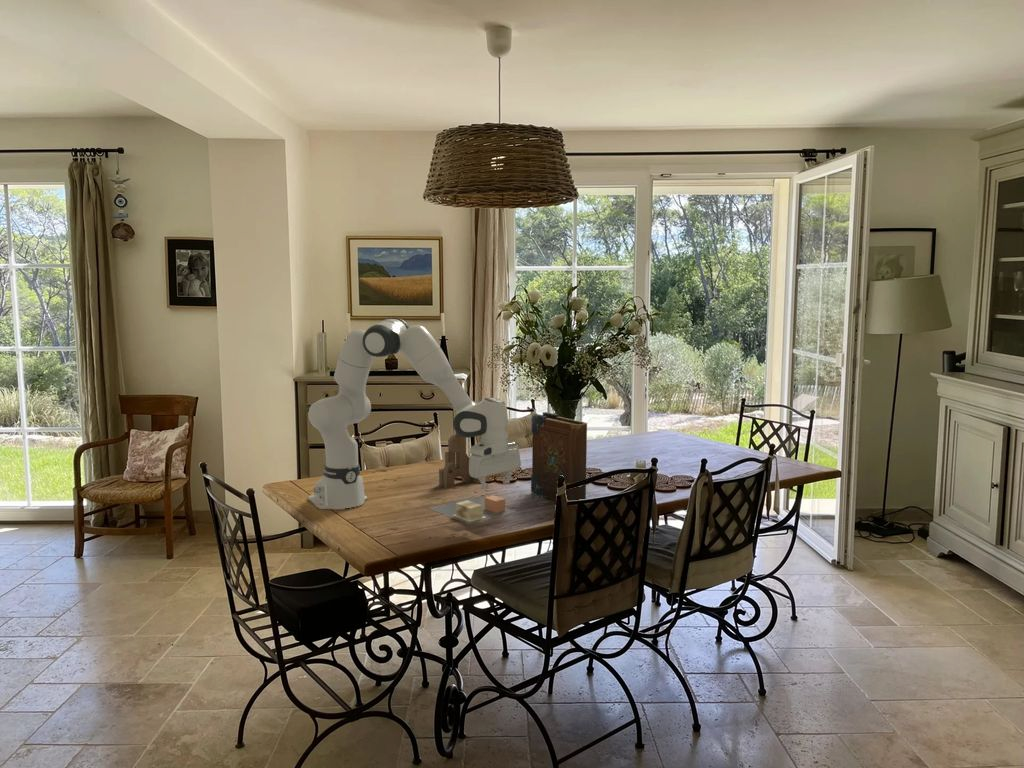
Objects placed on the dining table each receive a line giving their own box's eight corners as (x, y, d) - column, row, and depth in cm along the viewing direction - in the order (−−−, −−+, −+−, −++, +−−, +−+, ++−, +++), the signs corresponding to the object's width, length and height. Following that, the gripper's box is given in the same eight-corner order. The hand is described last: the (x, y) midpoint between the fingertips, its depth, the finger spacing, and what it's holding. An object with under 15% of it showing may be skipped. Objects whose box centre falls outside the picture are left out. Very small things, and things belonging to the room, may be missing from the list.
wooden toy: (446, 489, 284) (445, 424, 280) (439, 485, 290) (438, 421, 286) (482, 483, 292) (482, 420, 288) (474, 479, 297) (474, 417, 294)
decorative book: (530, 493, 278) (531, 414, 274) (545, 490, 283) (545, 411, 279) (574, 508, 260) (575, 423, 256) (589, 504, 265) (590, 421, 261)
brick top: (484, 508, 255) (484, 497, 254) (493, 506, 257) (493, 495, 257) (496, 512, 250) (496, 501, 250) (505, 510, 253) (505, 499, 252)
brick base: (455, 514, 248) (455, 503, 247) (467, 511, 251) (467, 500, 251) (470, 520, 242) (470, 508, 241) (482, 517, 245) (482, 505, 245)
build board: (428, 512, 256) (427, 507, 255) (473, 500, 269) (473, 496, 269) (469, 529, 239) (469, 524, 238) (516, 516, 252) (516, 511, 252)
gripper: (512, 440, 260) (512, 478, 261) (465, 449, 246) (466, 489, 248) (524, 442, 255) (524, 482, 257) (477, 452, 242) (478, 493, 243)
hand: (495, 486), depth 252 cm, fingers open, 8 cm apart
